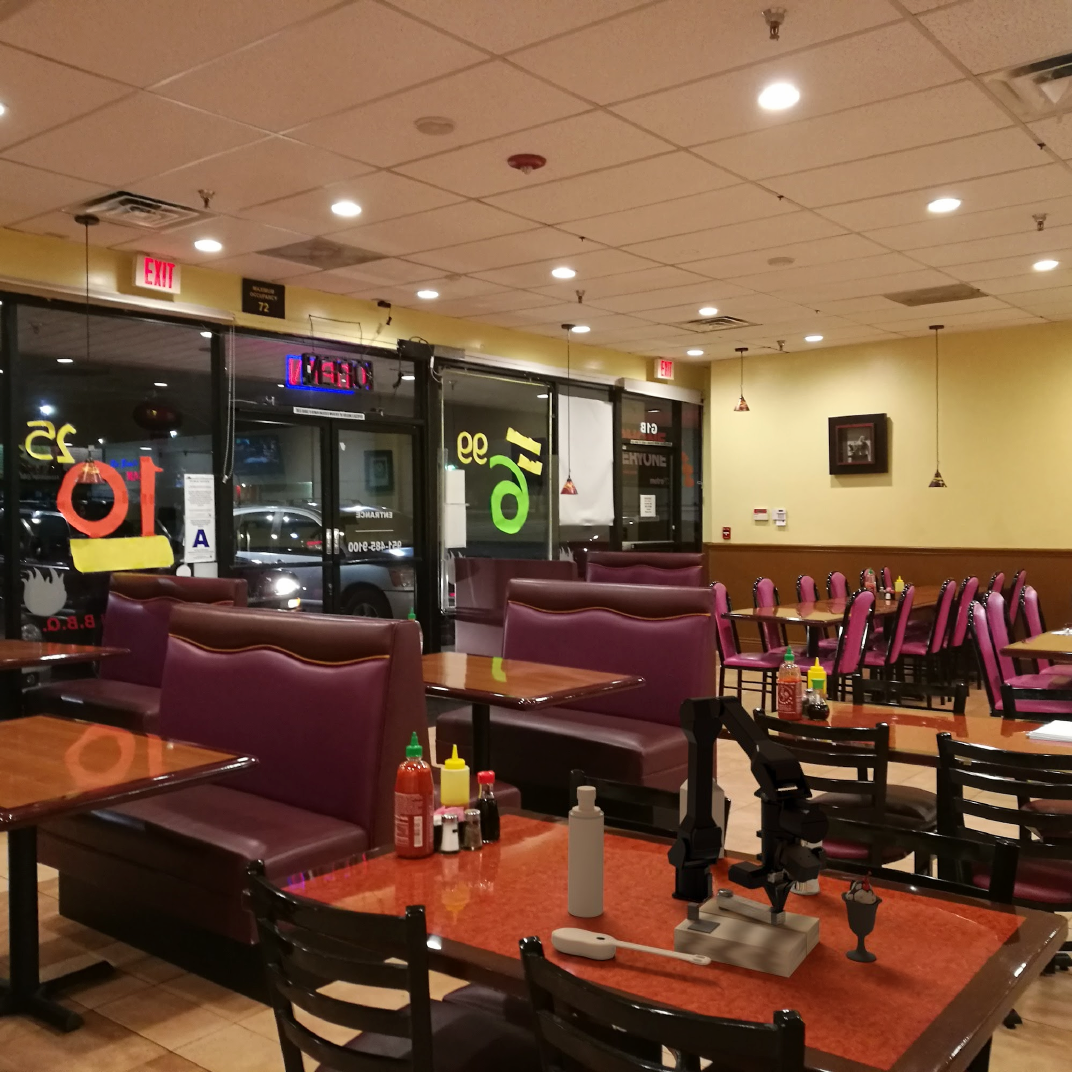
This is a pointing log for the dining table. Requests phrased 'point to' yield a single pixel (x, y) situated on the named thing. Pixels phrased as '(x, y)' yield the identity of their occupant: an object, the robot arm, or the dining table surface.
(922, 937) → the dining table surface
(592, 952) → the handheld milk frother
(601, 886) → the spray bottle
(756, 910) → the latch bar
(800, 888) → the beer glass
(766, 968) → the wooden case with bar
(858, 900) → the sundae
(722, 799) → the milk carton
